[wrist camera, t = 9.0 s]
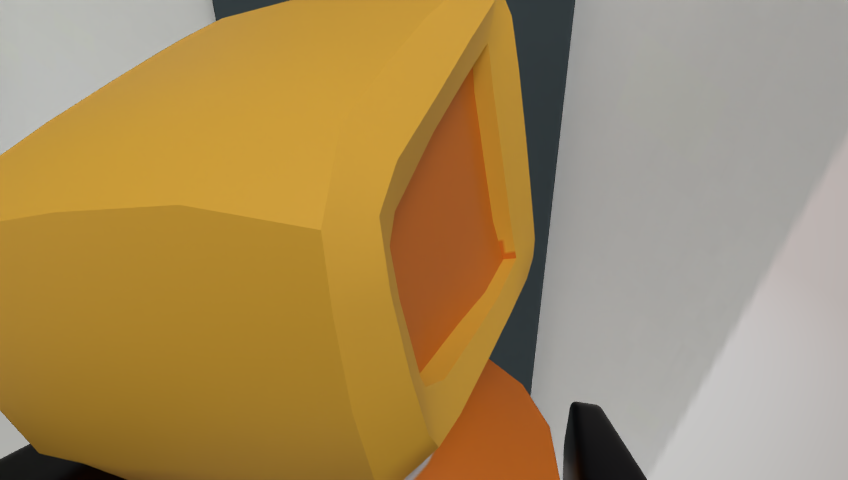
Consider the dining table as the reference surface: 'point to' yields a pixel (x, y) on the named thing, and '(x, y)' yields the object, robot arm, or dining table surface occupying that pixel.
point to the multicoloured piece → (280, 254)
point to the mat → (542, 106)
